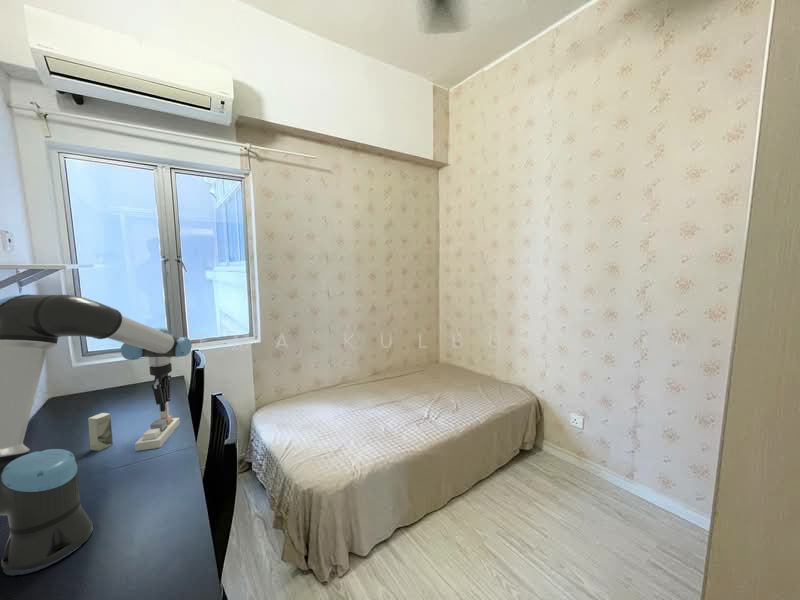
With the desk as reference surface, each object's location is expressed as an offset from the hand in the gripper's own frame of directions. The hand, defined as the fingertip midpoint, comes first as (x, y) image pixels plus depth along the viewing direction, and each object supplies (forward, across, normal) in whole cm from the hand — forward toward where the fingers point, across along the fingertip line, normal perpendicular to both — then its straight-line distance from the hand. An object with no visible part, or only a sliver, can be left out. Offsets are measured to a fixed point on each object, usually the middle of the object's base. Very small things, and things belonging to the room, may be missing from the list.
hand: (164, 417), depth 137 cm
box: (+6, -9, +18) cm, 21 cm away
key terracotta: (+3, 0, 0) cm, 3 cm away
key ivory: (+3, -12, 0) cm, 13 cm away
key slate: (+3, -6, 0) cm, 7 cm away
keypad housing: (+6, -6, 0) cm, 8 cm away
